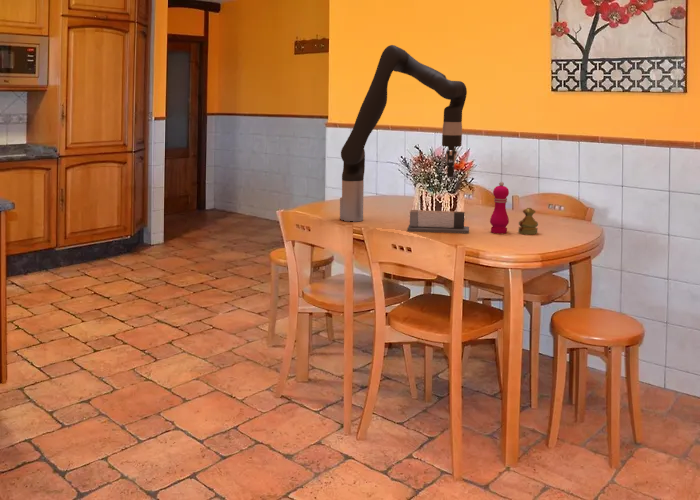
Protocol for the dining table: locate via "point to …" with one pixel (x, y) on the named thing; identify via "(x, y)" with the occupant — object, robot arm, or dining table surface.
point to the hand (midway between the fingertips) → (450, 175)
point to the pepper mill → (500, 210)
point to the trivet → (439, 229)
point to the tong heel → (414, 218)
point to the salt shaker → (528, 223)
